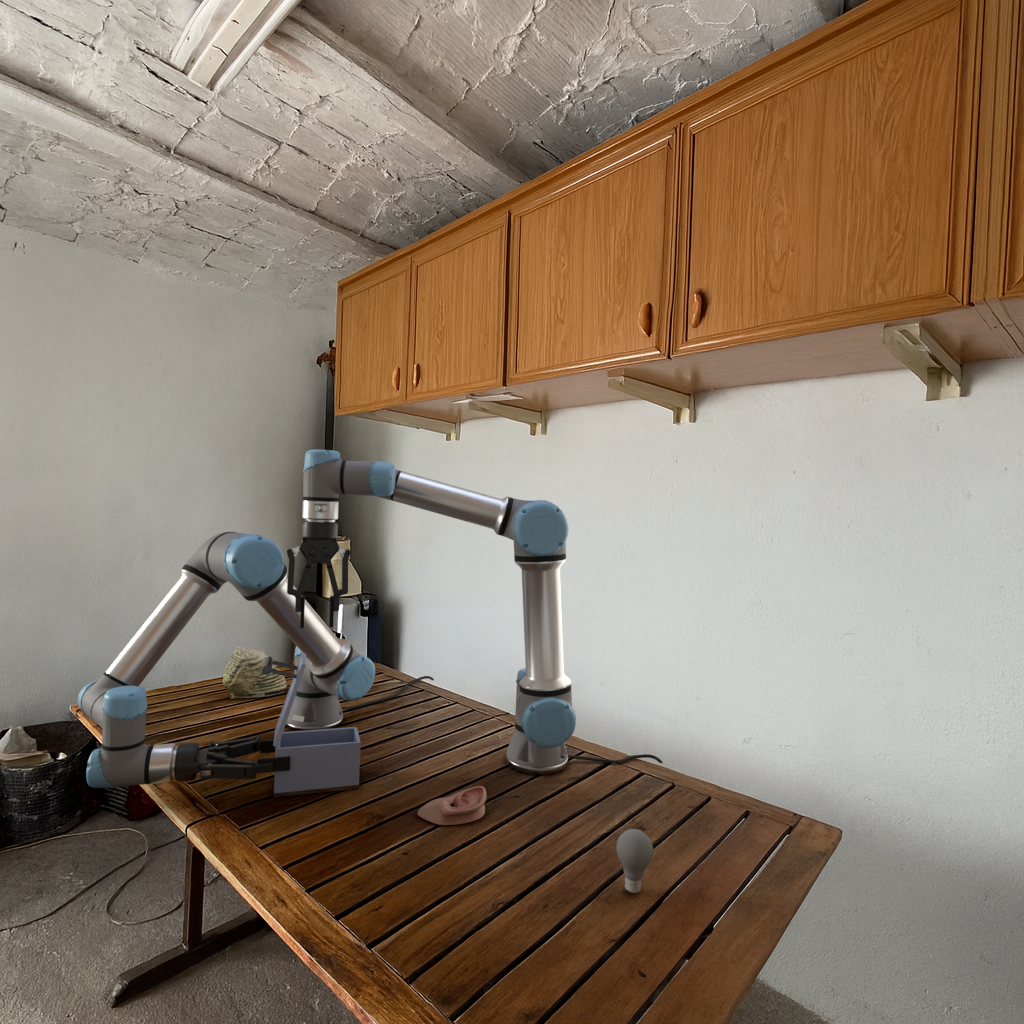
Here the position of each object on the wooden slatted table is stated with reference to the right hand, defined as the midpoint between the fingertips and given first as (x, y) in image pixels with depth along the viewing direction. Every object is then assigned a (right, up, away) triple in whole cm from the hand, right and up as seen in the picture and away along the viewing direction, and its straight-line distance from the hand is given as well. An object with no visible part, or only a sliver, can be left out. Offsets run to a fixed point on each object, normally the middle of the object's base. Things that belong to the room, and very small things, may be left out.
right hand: (316, 626), depth 139 cm
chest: (0, -35, +1) cm, 35 cm away
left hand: (-5, -28, -1) cm, 28 cm away
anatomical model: (+31, -36, -9) cm, 49 cm away
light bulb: (+63, -38, -33) cm, 81 cm away
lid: (-5, -16, -1) cm, 16 cm away
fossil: (-38, -32, +59) cm, 77 cm away
